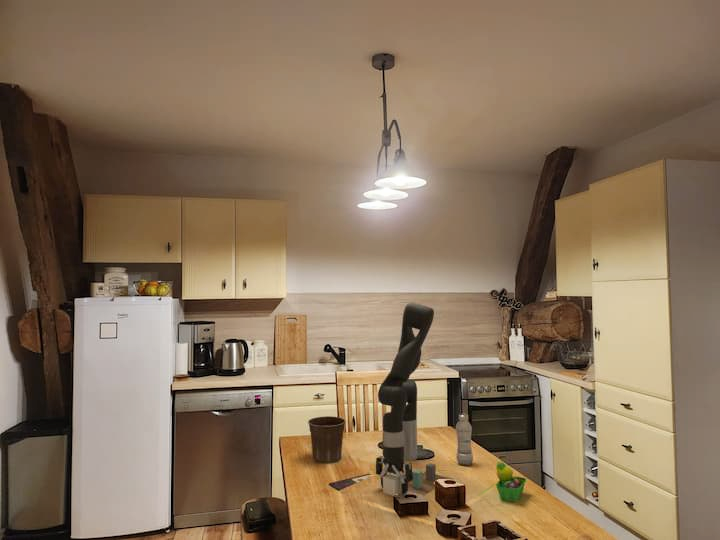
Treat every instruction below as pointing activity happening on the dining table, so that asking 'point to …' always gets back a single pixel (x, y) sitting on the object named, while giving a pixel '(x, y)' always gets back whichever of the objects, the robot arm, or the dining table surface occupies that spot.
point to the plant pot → (326, 438)
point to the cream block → (392, 484)
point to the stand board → (425, 485)
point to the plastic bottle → (464, 440)
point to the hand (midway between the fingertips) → (394, 490)
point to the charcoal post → (430, 472)
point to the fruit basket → (509, 483)
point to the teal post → (417, 479)
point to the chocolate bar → (348, 482)
